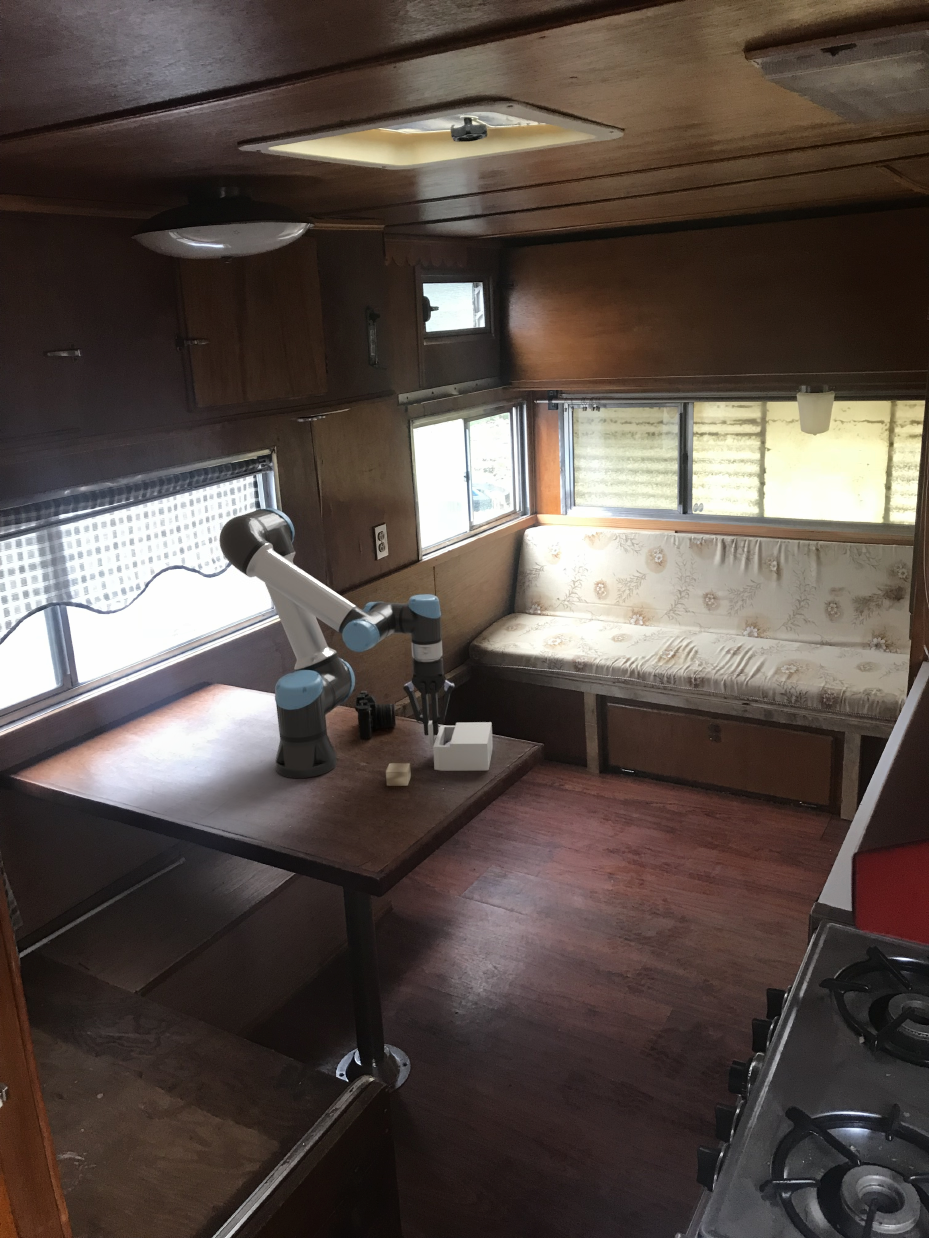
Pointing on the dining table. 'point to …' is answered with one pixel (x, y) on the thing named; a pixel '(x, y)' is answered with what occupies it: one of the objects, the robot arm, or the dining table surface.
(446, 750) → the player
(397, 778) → the beige block
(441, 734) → the tray
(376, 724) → the camera
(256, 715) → the dining table surface
